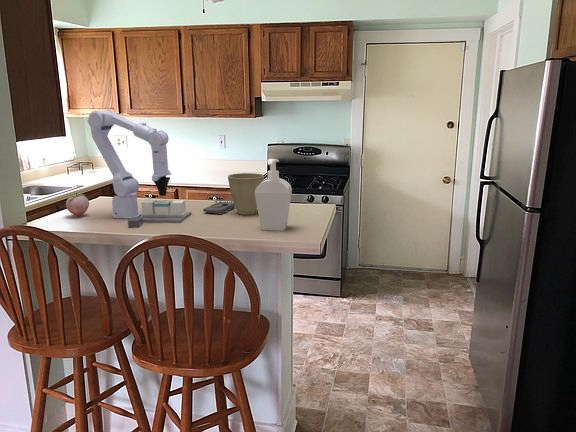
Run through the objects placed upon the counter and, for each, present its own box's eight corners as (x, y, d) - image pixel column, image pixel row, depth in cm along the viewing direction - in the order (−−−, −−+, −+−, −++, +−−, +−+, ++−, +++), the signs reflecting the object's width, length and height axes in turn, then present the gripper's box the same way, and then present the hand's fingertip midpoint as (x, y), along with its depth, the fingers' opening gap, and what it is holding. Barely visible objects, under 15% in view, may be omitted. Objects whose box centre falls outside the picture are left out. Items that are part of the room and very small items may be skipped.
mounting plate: (136, 222, 189) (134, 204, 188) (150, 213, 203) (148, 197, 201) (180, 222, 187) (179, 205, 185) (191, 214, 201) (190, 198, 199)
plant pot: (248, 218, 192) (247, 179, 188) (222, 214, 200) (220, 176, 197) (271, 211, 203) (271, 174, 199) (245, 207, 212) (244, 171, 208)
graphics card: (215, 198, 217) (239, 199, 212) (216, 207, 217) (240, 207, 213) (196, 207, 201) (221, 208, 197) (197, 215, 202) (222, 217, 198)
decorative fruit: (76, 213, 206) (73, 190, 203) (93, 214, 204) (91, 191, 202) (62, 218, 197) (59, 194, 194) (80, 219, 195) (77, 195, 193)
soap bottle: (254, 231, 173) (252, 160, 167) (260, 224, 183) (258, 157, 176) (288, 232, 171) (287, 160, 165) (292, 225, 181) (291, 157, 174)
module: (155, 214, 192) (154, 202, 191) (159, 211, 197) (158, 200, 196) (168, 215, 192) (167, 202, 190) (172, 212, 197) (172, 200, 195)
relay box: (128, 228, 181) (127, 220, 180) (132, 224, 187) (131, 216, 186) (139, 228, 181) (138, 220, 181) (142, 224, 187) (142, 216, 187)
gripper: (163, 164, 182) (165, 199, 185) (176, 159, 196) (178, 192, 199) (145, 164, 183) (148, 199, 186) (159, 159, 197) (162, 192, 200)
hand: (162, 195), depth 193 cm, fingers closed
